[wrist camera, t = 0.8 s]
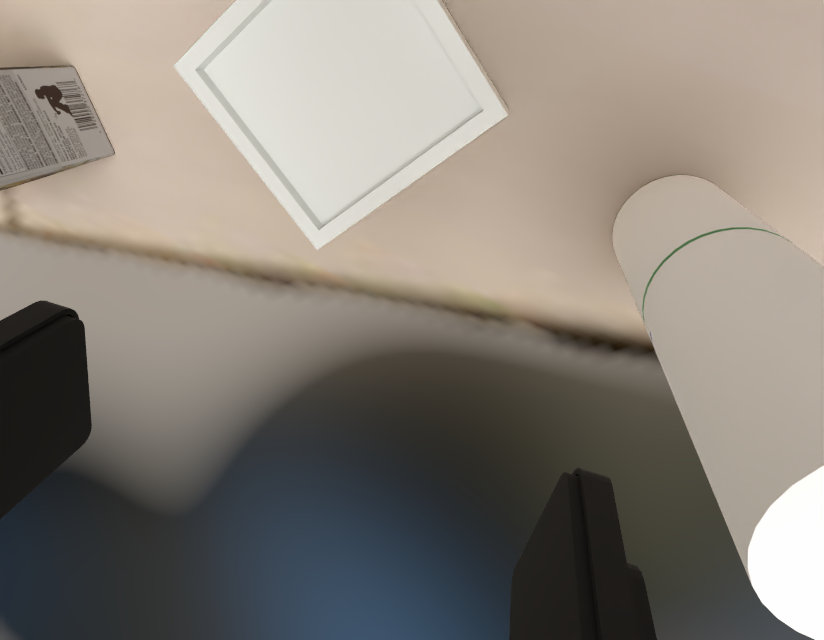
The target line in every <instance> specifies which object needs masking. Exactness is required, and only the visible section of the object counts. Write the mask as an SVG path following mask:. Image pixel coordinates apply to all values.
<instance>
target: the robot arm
mask: <svg viewBox="0 0 824 640" xmlns="http://www.w3.org/2000/svg"><path fill="white" fill-rule="evenodd" d="M91 426H92V425H91V413H90V397H89V384H88V370H87V356H86V342H85V328H84V324H83V322H82V321H81V320H79V317H78V314H77V313H76V312H75V311H74V310H72V309H70V308H67V307H64V306H60V305H57V304H54V303H50V302H48V301H38V302H35V303H33V304H31V305H29V306H28V307H26V308H24V309H22V310H20V311H18V312H16V313H14V314H12V315H10V316H9V317H6V318H5V319H3V320H1V321H0V519H1V518H2V517H3V516H4V515H5V514H7V513H8V512H9V511H10V510H11V509H12V508H13V507H14V506H15V505H17V504H18V503H19V502H20V501H21V500H22V499H23V498H24V497H25V496H27V495H28V494H29V493H30V492H31V491H32V490H33V489H34V488H35V487H37V486H38V485H39V484H40V483H41V482H42V481H43V480H44V479H46V478H47V477H48V476H49V475H50V474H51V473H52V472H53V471H54V470H55V469H57V468H58V467H59V466H60V465H61V464H62V463H63V462H64V461H65V460H67V459H68V458H69V457H70V456H71V455H72V454H73V453H74V452H76V451H77V450H78V449H79V448H80V447H81V446H82V445H83V444H84V443H85V442H86V440H87V439H88V437H89V435H90V432H91ZM509 639H510V640H657V638H656V634H655V629H654V624H653V620H652V615H651V611H650V606H649V601H648V596H647V591H646V587H645V582H644V579H643V576H642V573H641V571H640V570H639V568H638V567H637V566H635V565H632V564H629V563H627V562H626V557H625V551H624V546H623V541H622V535H621V530H620V524H619V519H618V514H617V509H616V503H615V499H614V492H613V487H612V483H611V480H610V478H608V477H606V476H603V475H599V474H596V473H593V472H590V471H587V470H584V469H580V468H577V469H576V470H574V472H573V473H572V474H569V473H566V472H564V473H563V474H562V475H561V477H560V479H559V481H558V483H557V485H556V487H555V489H554V491H553V493H552V495H551V497H550V499H549V501H548V503H547V505H546V507H545V509H544V511H543V513H542V515H541V516H540V519H539V521H538V522H537V525H536V526H535V529H534V530H533V533H532V534H531V536H530V538H529V540H528V542H527V544H526V546H525V548H524V550H523V553H522V554H521V556H520V558H519V560H518V562H517V564H516V567H515V569H514V573H513V577H512V584H511V609H510V638H509Z"/></svg>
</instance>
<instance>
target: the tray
mask: <svg viewBox="0 0 824 640" xmlns="http://www.w3.org/2000/svg"><path fill="white" fill-rule="evenodd" d="M174 67H175V69H176V70H177V71H178V73H179V74H180V75H181V76H182V78H183V79H184V80H185V82H186V83H187V84H188V85H189V87H190V88H191V89H192V91H193V92H194V93H195V94H196V96H197V97H198V98H199V99H200V101H201V102H202V103H203V105H204V106H205V107H206V108H207V110H208V111H209V112H210V114H211V115H212V116H213V117H214V119H215V120H216V121H217V123H218V124H219V125H220V126H221V128H222V129H223V130H224V132H225V133H226V134H227V135H228V137H229V138H230V139H231V140H232V142H233V143H234V144H235V146H236V147H237V148H238V149H239V151H240V152H241V153H242V155H243V156H244V157H245V158H246V160H247V161H248V162H249V164H250V165H251V166H252V167H253V169H254V170H255V171H256V173H257V174H258V175H259V176H260V178H261V179H262V180H263V181H264V183H265V184H266V185H267V187H268V188H269V189H270V190H271V192H272V193H273V194H274V196H275V197H276V198H277V199H278V201H279V202H280V203H281V205H282V206H283V207H284V208H285V210H286V211H287V212H288V213H289V215H290V216H291V217H292V219H293V220H294V221H295V222H296V224H297V225H298V226H299V228H300V229H301V230H302V231H303V233H304V234H305V235H306V237H307V238H308V239H309V240H310V242H311V243H312V244H313V246H314V247H315V248H316V249H317V250H318V249H320V248H321V247H322V246H324V245H325V244H327V243H328V242H330V241H331V240H332V239H334V238H335V237H337V236H338V235H339V234H341V233H342V232H344V231H345V230H346V229H348V228H349V227H351V226H352V225H354V224H355V223H356V222H358V221H359V220H361V219H362V218H363V217H365V216H366V215H368V214H369V213H371V212H372V211H373V210H375V209H376V208H378V207H379V206H380V205H382V204H383V203H385V202H386V201H387V200H389V199H390V198H392V197H393V196H395V195H396V194H397V193H399V192H400V191H402V190H403V189H404V188H406V187H407V186H409V185H410V184H411V183H413V182H414V181H416V180H417V179H419V178H420V177H421V176H423V175H424V174H426V173H427V172H428V171H430V170H431V169H433V168H434V167H435V166H437V165H438V164H440V163H441V162H443V161H444V160H445V159H447V158H448V157H450V156H451V155H452V154H454V153H455V152H457V151H458V150H459V149H461V148H462V147H464V146H465V145H467V144H468V143H469V142H471V141H472V140H474V139H475V138H476V137H478V136H479V135H481V134H482V133H484V132H485V131H486V130H488V129H489V128H491V127H492V126H493V125H495V124H496V123H498V122H499V121H500V120H502V119H503V118H505V117H506V116H508V113H509V109H508V108H507V106H506V104H505V103H504V101H503V100H502V98H501V96H500V95H499V93H498V91H497V90H496V88H495V87H494V85H493V83H492V82H491V80H490V78H489V77H488V75H487V73H486V72H485V70H484V69H483V67H482V65H481V64H480V62H479V60H478V59H477V57H476V56H475V54H474V52H473V51H472V49H471V47H470V46H469V44H468V42H467V41H466V39H465V38H464V36H463V34H462V33H461V31H460V29H459V28H458V26H457V25H456V23H455V21H454V20H453V18H452V16H451V15H450V13H449V11H448V10H447V8H446V7H445V5H444V3H443V2H442V0H236V1H235V2H234V3H233V4H232V5H231V6H230V7H229V8H228V9H227V10H226V11H225V12H224V13H223V14H222V15H221V17H220V18H219V19H218V20H217V21H216V22H215V23H214V24H213V25H212V26H211V27H210V28H209V29H208V30H207V31H206V32H205V33H204V34H203V35H202V36H201V38H200V39H199V40H198V41H197V42H196V43H195V44H194V45H193V46H192V47H191V48H190V49H189V50H188V51H187V52H186V53H185V54H184V55H183V56H182V58H181V59H180V60H179V61H178V62H177V63H176V64H175V65H174Z"/></svg>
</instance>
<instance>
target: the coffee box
mask: <svg viewBox="0 0 824 640" xmlns="http://www.w3.org/2000/svg"><path fill="white" fill-rule="evenodd" d="M113 154H114V150H113V148H112V146H111V144H110V142H109V140H108V138H107V136H106V134H105V131H104V129H103V127H102V125H101V123H100V121H99V119H98V116H97V114H96V112H95V110H94V108H93V106H92V104H91V102H90V99H89V97H88V95H87V93H86V91H85V89H84V87H83V84H82V82H81V80H80V78H79V76H78V74H77V72H76V70H75V68H74V67H73V66H67V65H66V66H44V67H13V68H0V191H1V190H4V189H8V188H11V187H14V186H17V185H21V184H24V183H27V182H30V181H34V180H37V179H40V178H43V177H46V176H50V175H53V174H56V173H59V172H62V171H65V170H68V169H71V168H74V167H77V166H80V165H83V164H86V163H89V162H92V161H95V160H98V159H101V158H105V157H108V156H111V155H113Z"/></svg>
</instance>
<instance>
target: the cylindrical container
mask: <svg viewBox="0 0 824 640" xmlns="http://www.w3.org/2000/svg"><path fill="white" fill-rule="evenodd" d="M612 240H613V248H614V251H615V254H616V257H617V259H618V262H619V264H620V267H621V269H622V271H623V274H624V276H625V279H626V281H627V284H628V286H629V288H630V291H631V293H632V296H633V298H634V300H635V303H636V305H637V308H638V310H639V313H640V315H641V317H642V320H643V322H644V325H645V327H646V330H647V332H648V334H649V337H650V339H651V342H652V344H653V347H654V349H655V351H656V354H657V356H658V359H659V361H660V363H661V366H662V368H663V371H664V373H665V376H666V378H667V380H668V383H669V385H670V388H671V390H672V393H673V395H674V397H675V400H676V402H677V405H678V407H679V410H680V412H681V414H682V417H683V419H684V421H685V424H686V426H687V429H688V431H689V433H690V436H691V438H692V441H693V443H694V446H695V448H696V451H697V453H698V455H699V458H700V460H701V463H702V465H703V468H704V470H705V472H706V475H707V477H708V480H709V482H710V485H711V487H712V489H713V492H714V494H715V497H716V499H717V502H718V504H719V506H720V509H721V511H722V514H723V516H724V519H725V521H726V523H727V526H728V528H729V531H730V533H731V535H732V538H733V540H734V543H735V545H736V548H737V550H738V553H739V555H740V557H741V560H742V562H743V565H744V567H745V569H746V572H747V574H748V577H749V579H750V582H751V584H752V586H753V588H754V590H755V591H756V593H757V595H758V597H759V598H760V600H761V601H762V603H763V604H764V605H765V606H766V607H767V608H768V609H769V610H770V611H771V612H772V613H773V614H774V615H775V616H776V617H777V618H778V619H779V620H781V621H782V622H784V623H785V624H787V625H789V626H790V627H791V628H793V629H794V630H796V631H797V632H799V633H802V634H804V635H806V636H808V637H811V638H813V639H815V640H824V266H822V265H821V264H820V263H818V262H817V261H816V260H814V259H813V258H812V257H810V256H809V255H808V254H806V253H805V252H804V251H802V250H801V249H800V248H798V247H797V246H796V245H794V244H793V243H792V242H790V241H789V240H788V239H786V238H785V237H784V236H782V235H781V234H780V233H778V232H777V231H776V230H774V229H773V228H772V227H770V226H769V225H768V224H766V223H765V222H764V221H762V220H761V219H760V218H758V217H757V216H756V215H754V214H753V213H752V212H750V211H749V210H748V209H746V208H745V207H744V206H742V205H741V204H740V203H738V202H737V201H736V200H734V199H733V198H732V197H730V196H729V195H728V194H726V193H725V192H724V191H722V190H721V189H720V188H718V187H717V186H716V185H714V184H713V183H711V182H709V181H707V180H705V179H703V178H700V177H695V176H690V175H674V176H668V177H663V178H660V179H657V180H655V181H652V182H650V183H648V184H646V185H645V186H643V187H641V188H640V189H639V190H637V191H636V192H635V193H634V194H632V195H631V196H630V198H629V199H628V200H627V201H626V202H625V203H624V204H623V206H622V208H621V209H620V211H619V213H618V214H617V217H616V220H615V223H614V226H613V233H612Z"/></svg>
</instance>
